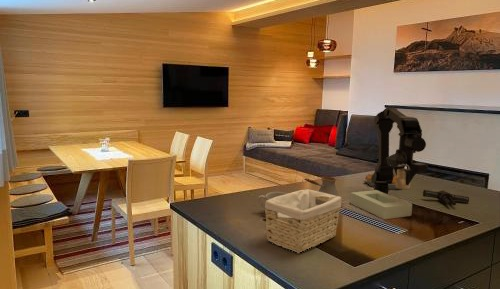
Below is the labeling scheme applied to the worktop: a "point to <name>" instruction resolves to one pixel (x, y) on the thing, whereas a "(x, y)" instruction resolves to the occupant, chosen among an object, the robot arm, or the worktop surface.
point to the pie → (390, 186)
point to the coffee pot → (325, 187)
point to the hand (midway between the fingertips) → (403, 183)
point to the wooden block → (402, 179)
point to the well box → (381, 204)
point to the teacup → (269, 196)
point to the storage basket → (302, 219)
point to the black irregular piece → (446, 197)
